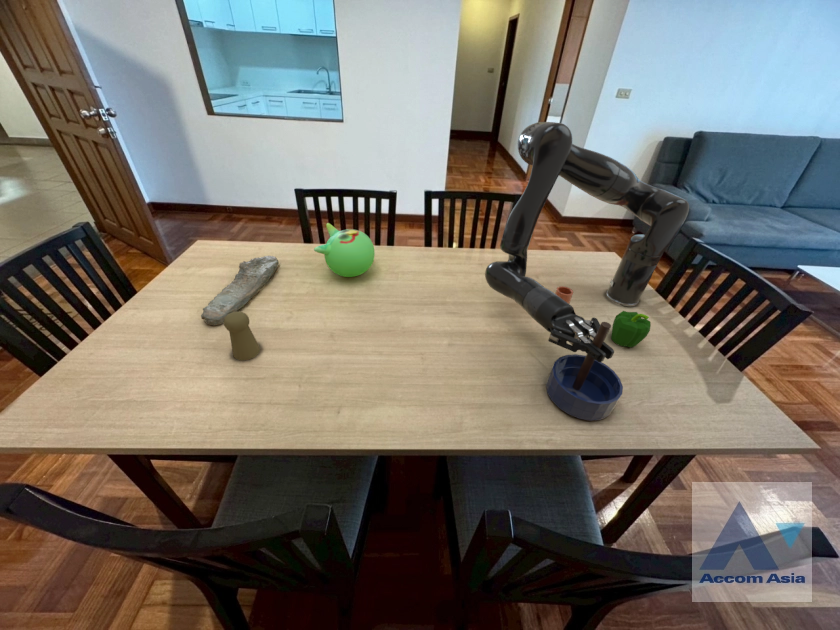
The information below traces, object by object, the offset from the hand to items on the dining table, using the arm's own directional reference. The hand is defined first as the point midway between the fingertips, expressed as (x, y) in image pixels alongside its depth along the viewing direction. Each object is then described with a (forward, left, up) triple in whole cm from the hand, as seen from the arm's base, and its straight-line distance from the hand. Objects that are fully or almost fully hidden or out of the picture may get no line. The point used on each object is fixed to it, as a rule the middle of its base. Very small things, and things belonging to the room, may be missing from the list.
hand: (607, 356), depth 70 cm
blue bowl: (0, -2, -14) cm, 14 cm away
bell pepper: (-26, -11, -14) cm, 31 cm away
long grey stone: (+63, -73, -14) cm, 98 cm away
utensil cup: (-20, -29, -14) cm, 38 cm away
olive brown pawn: (+65, -45, -14) cm, 81 cm away
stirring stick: (0, -3, -12) cm, 12 cm away
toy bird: (+31, -73, -14) cm, 81 cm away
